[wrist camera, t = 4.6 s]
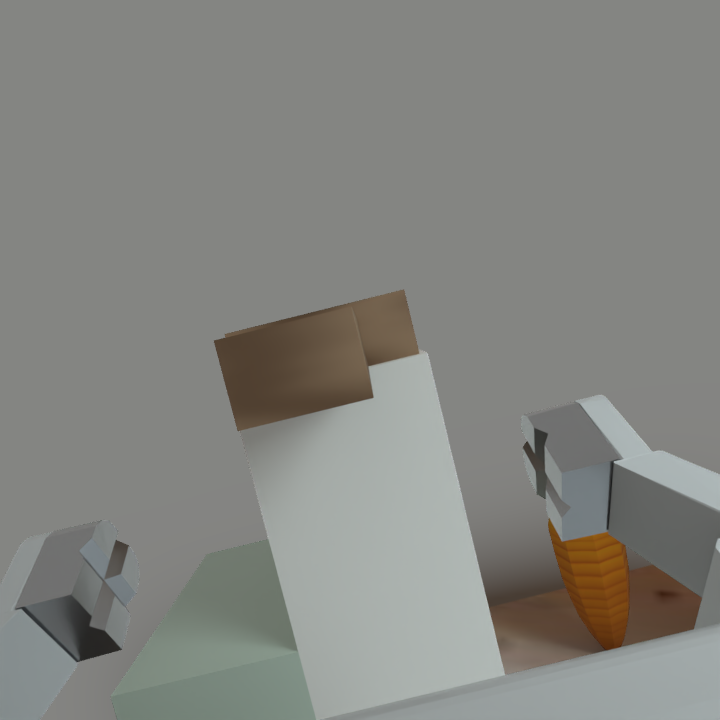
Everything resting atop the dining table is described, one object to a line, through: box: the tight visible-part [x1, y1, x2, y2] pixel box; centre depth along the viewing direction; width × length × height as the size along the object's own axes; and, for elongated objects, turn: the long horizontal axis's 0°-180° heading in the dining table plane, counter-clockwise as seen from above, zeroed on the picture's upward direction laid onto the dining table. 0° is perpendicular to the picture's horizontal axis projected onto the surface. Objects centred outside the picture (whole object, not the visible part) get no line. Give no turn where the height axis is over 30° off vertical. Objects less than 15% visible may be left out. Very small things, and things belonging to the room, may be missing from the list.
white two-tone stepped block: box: [111, 349, 505, 720], centre depth 27 cm, size 15×13×26 cm
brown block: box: [214, 290, 419, 431], centre depth 20 cm, size 7×18×2 cm, turn 0°
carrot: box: [548, 518, 630, 650], centre depth 39 cm, size 5×5×15 cm
